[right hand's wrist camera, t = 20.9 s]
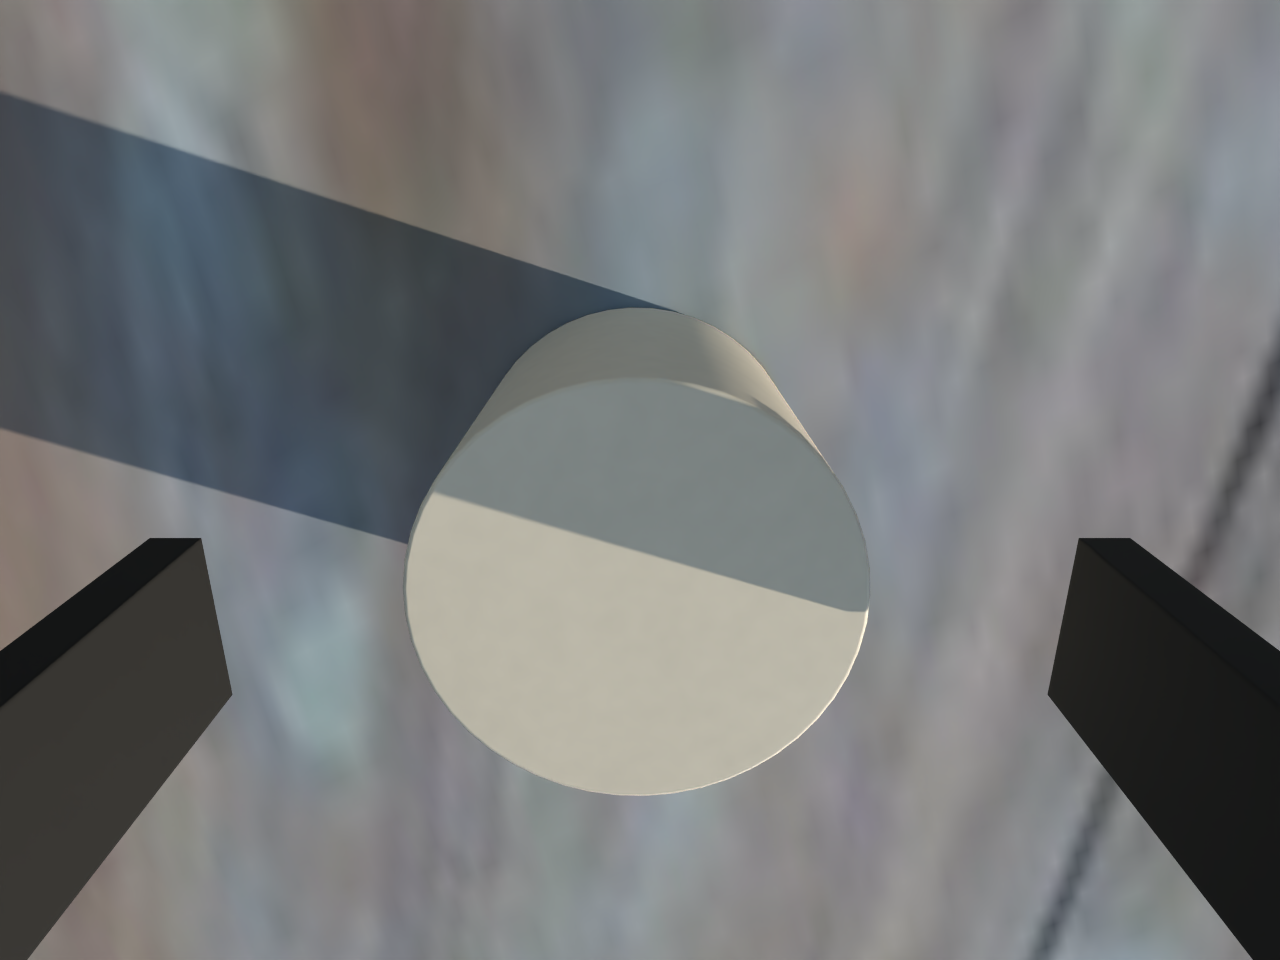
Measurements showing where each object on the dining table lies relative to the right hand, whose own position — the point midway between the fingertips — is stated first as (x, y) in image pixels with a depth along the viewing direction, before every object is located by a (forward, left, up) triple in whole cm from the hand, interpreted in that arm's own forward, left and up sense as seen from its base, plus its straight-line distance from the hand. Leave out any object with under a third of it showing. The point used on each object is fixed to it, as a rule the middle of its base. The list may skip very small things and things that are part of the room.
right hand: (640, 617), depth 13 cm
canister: (0, 0, -8) cm, 8 cm away
